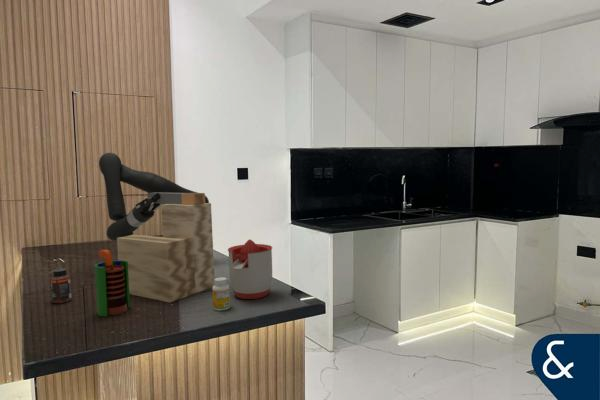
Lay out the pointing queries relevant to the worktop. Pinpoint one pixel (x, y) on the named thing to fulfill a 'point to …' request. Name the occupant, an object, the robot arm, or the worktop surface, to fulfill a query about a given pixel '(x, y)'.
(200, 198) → the grey and tan bar
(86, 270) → the worktop surface
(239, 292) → the citrus juicer
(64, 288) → the supplement bottle
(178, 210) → the stand
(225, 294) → the supplement bottle
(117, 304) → the motor
